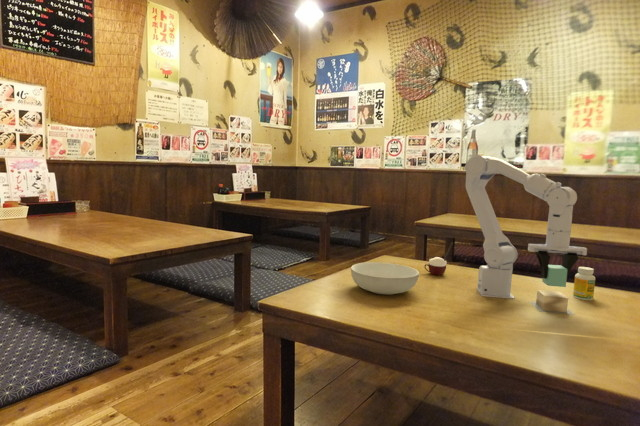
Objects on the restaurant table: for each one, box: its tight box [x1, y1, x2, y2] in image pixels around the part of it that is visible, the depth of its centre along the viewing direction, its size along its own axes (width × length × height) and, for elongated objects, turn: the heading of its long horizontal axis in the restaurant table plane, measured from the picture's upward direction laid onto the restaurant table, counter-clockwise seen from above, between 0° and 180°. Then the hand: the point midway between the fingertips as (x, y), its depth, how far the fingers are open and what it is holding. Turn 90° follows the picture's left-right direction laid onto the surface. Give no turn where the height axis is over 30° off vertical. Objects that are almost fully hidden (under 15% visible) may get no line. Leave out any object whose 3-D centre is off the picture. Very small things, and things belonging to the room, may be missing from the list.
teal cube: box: [541, 264, 568, 288], centre depth 117 cm, size 4×4×5 cm
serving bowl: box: [350, 261, 420, 296], centre depth 130 cm, size 21×21×7 cm
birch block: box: [535, 289, 569, 312], centre depth 118 cm, size 6×6×4 cm
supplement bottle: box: [572, 266, 596, 301], centre depth 129 cm, size 5×5×10 cm
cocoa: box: [423, 242, 454, 276], centre depth 152 cm, size 10×6×12 cm, turn 58°
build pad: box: [528, 300, 576, 316], centre depth 118 cm, size 9×9×1 cm
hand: (554, 278), depth 117 cm, fingers closed on teal cube, 4 cm apart
